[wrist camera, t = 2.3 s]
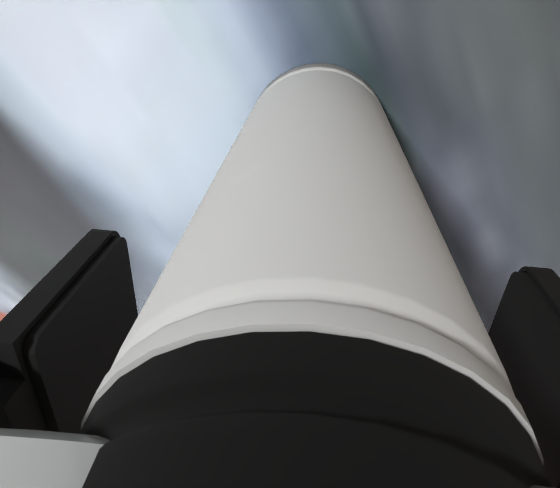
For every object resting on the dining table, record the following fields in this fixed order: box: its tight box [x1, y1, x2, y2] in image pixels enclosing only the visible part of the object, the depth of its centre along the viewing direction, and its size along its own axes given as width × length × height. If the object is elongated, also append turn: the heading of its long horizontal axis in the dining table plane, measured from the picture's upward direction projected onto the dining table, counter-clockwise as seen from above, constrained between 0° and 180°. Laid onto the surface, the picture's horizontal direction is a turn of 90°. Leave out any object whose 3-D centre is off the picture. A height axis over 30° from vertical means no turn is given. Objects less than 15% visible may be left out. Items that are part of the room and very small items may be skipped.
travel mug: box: [79, 63, 553, 488], centre depth 12 cm, size 6×7×20 cm
